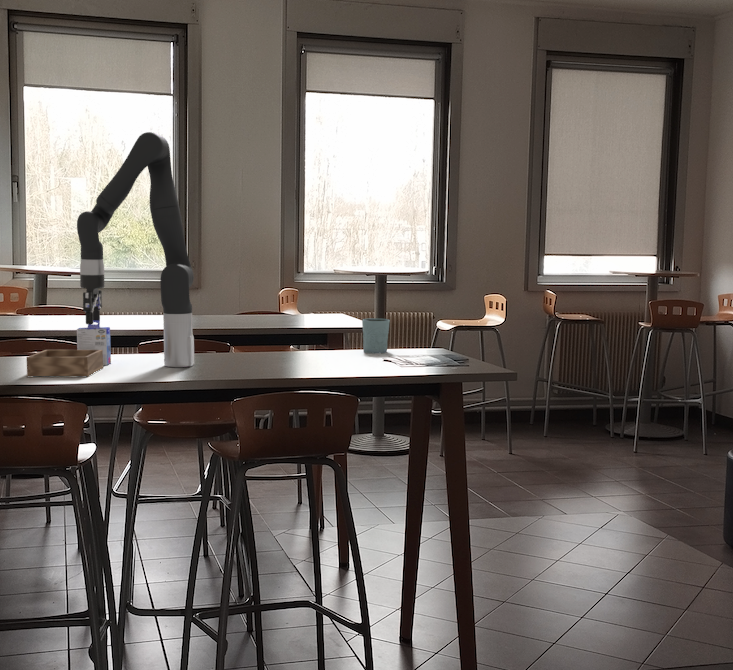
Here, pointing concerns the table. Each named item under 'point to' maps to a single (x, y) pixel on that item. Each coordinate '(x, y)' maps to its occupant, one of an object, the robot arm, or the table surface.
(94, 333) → the ink cartridge box
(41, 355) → the walled box
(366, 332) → the grey tapered piece
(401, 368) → the table surface
